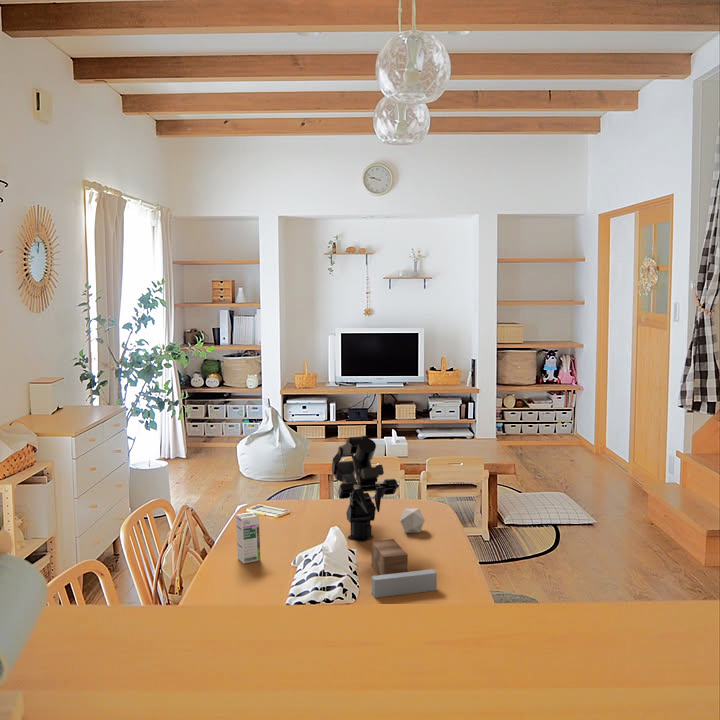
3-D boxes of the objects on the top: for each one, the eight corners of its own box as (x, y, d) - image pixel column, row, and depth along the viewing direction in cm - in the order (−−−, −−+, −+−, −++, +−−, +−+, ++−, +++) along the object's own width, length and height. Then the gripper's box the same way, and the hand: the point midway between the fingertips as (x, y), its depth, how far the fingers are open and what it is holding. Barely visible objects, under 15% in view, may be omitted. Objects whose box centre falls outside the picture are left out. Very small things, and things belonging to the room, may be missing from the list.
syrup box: (243, 564, 236) (241, 518, 234) (237, 558, 241) (235, 513, 240) (260, 560, 238) (259, 515, 237) (254, 555, 244) (253, 510, 242)
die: (417, 539, 259) (431, 514, 261) (395, 525, 260) (409, 501, 262) (415, 539, 267) (428, 515, 269) (393, 527, 268) (407, 503, 270)
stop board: (371, 593, 212) (371, 576, 212) (433, 586, 217) (432, 569, 216) (374, 597, 209) (374, 580, 209) (436, 590, 214) (436, 573, 213)
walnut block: (371, 566, 233) (371, 541, 232) (393, 564, 235) (393, 538, 234) (384, 583, 219) (384, 556, 219) (407, 581, 221) (407, 554, 220)
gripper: (339, 458, 243) (348, 501, 233) (395, 454, 248) (406, 496, 238) (334, 476, 251) (342, 519, 242) (388, 472, 256) (399, 514, 247)
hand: (373, 512), depth 242 cm, fingers open, 3 cm apart
